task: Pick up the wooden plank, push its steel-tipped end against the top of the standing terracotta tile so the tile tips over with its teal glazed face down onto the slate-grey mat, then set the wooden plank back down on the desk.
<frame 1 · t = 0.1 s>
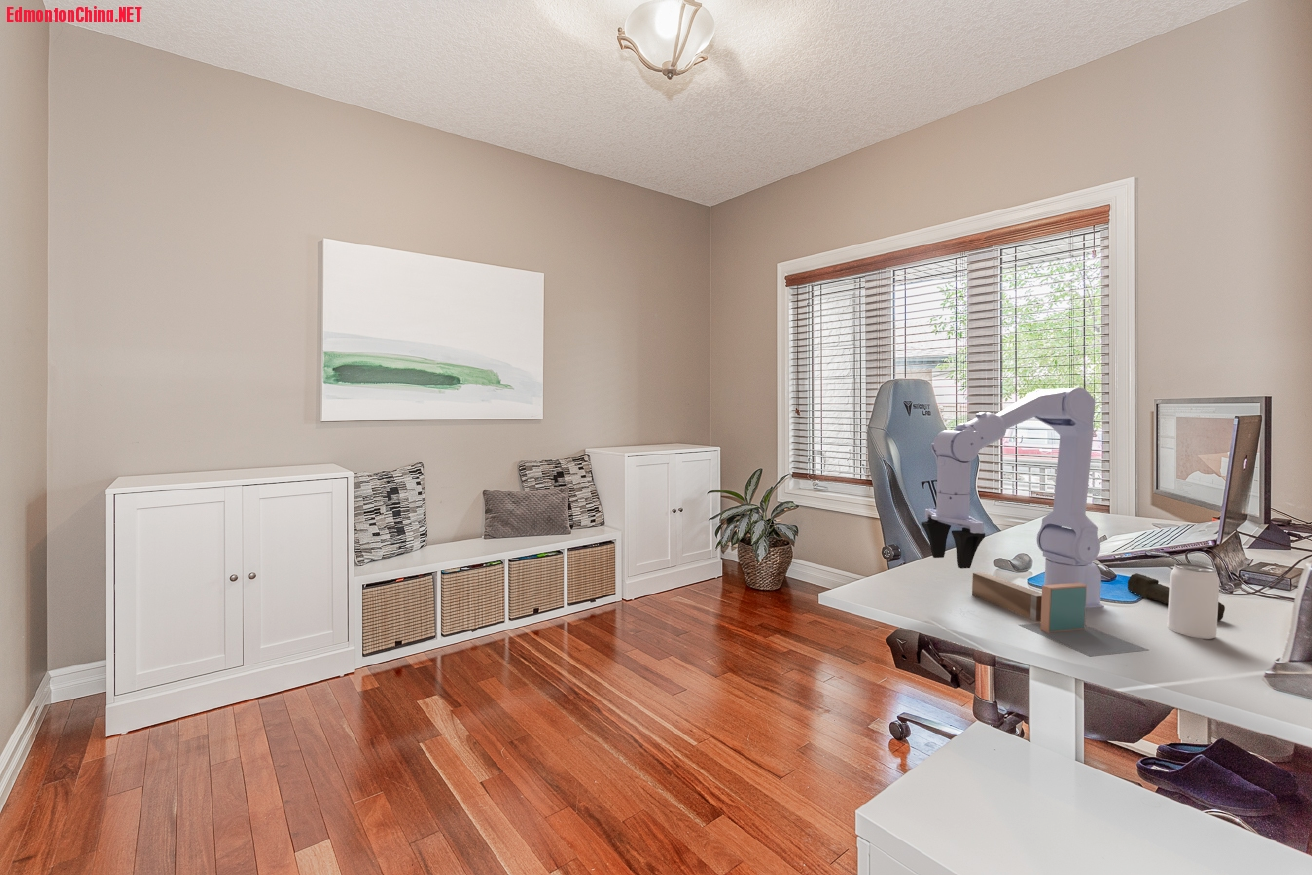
hand: (950, 562, 116), 10 cm above the table, tool pointing down, fingers open, 7 cm apart
wooden plank: (1006, 608, 119), on the table
can: (1191, 634, 107), on the table
hand tool: (1166, 607, 122), on the table
mat: (1080, 638, 104), on the table
tile: (1062, 629, 107), on the table, touching mat
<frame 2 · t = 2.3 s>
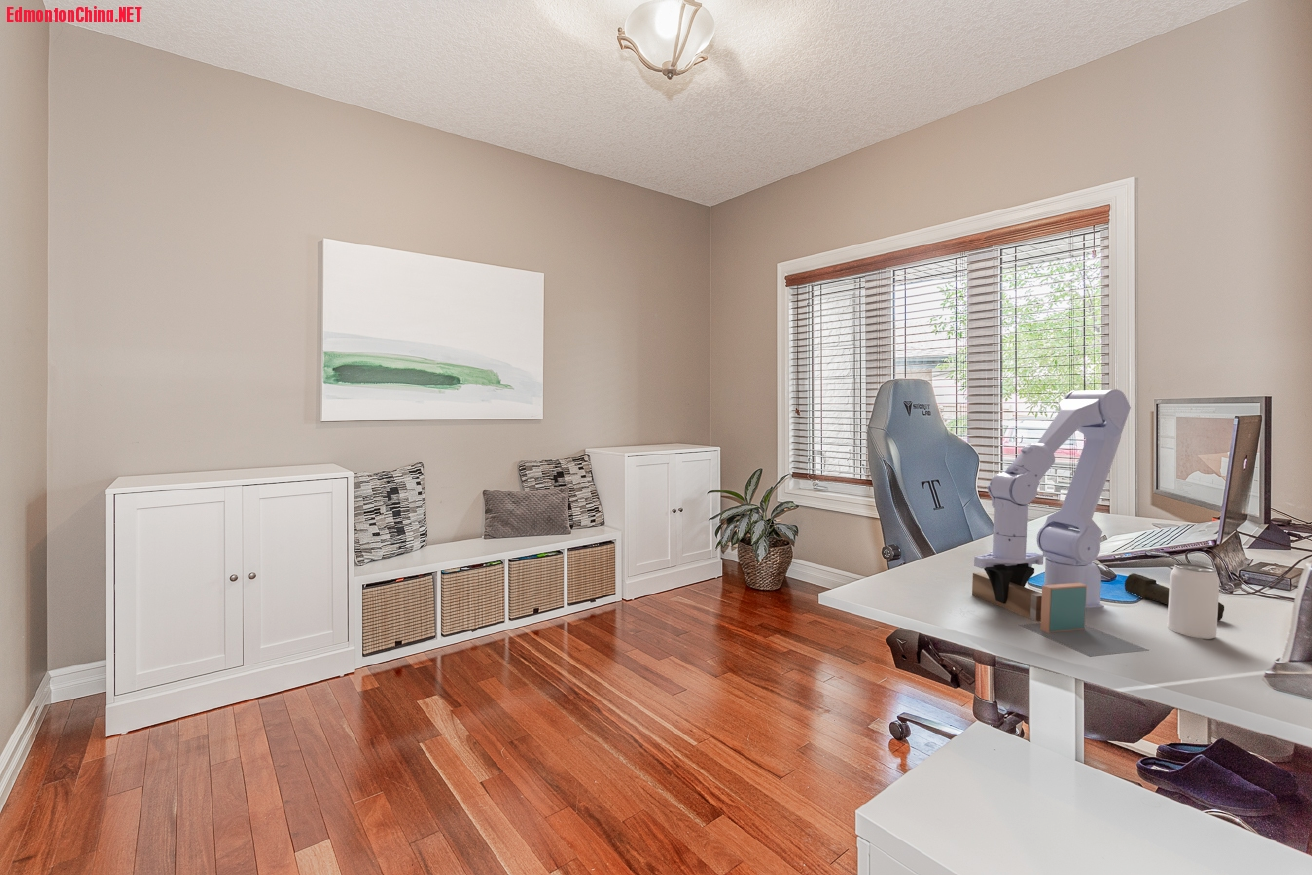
hand: (1007, 601, 119), 1 cm above the table, tool pointing down, fingers closed on wooden plank, 2 cm apart
wooden plank: (1006, 608, 119), on the table, touching gripper
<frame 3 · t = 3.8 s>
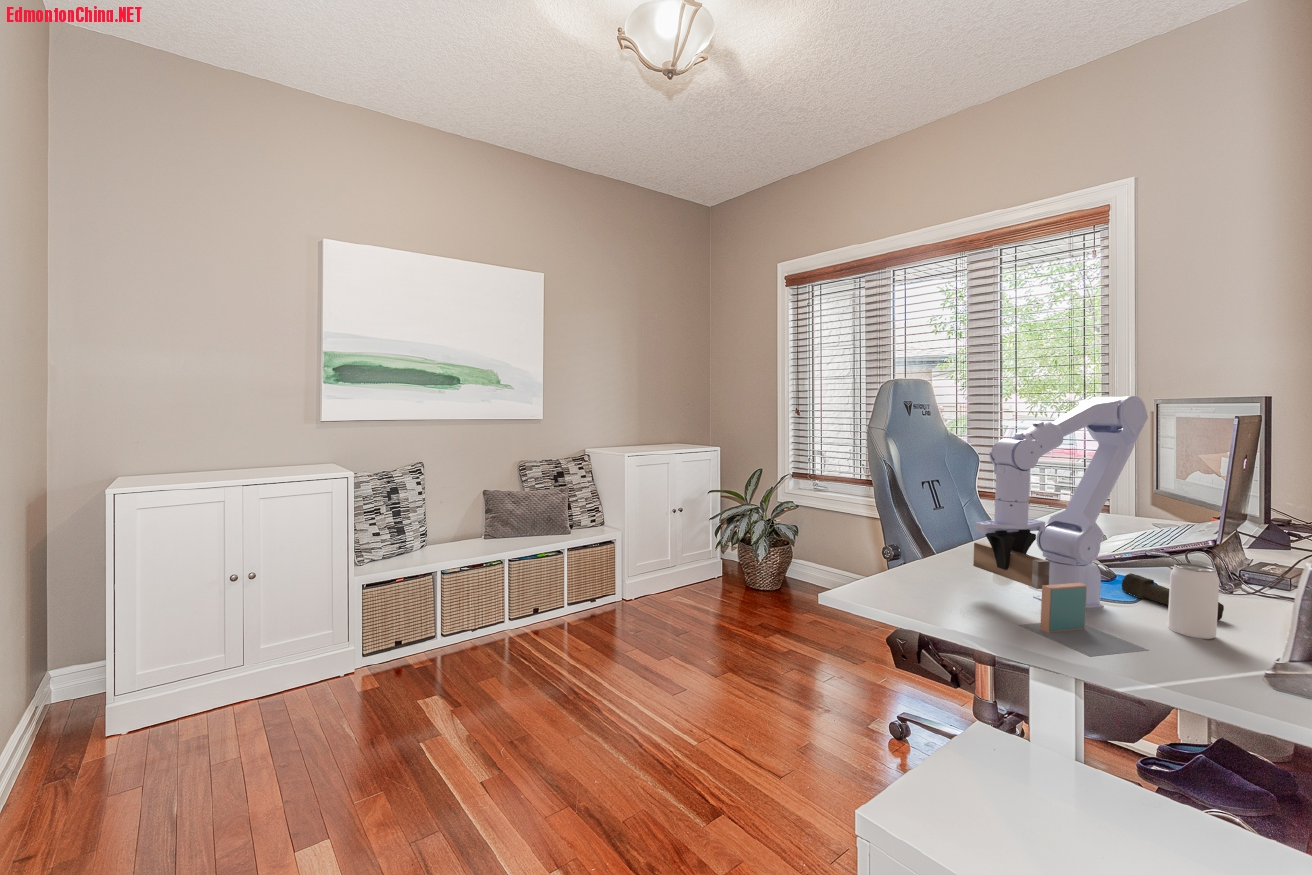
hand: (1009, 568, 119), 8 cm above the table, tool pointing down, fingers closed on wooden plank, 2 cm apart
wooden plank: (1008, 576, 119), point 6 cm above the table, touching gripper
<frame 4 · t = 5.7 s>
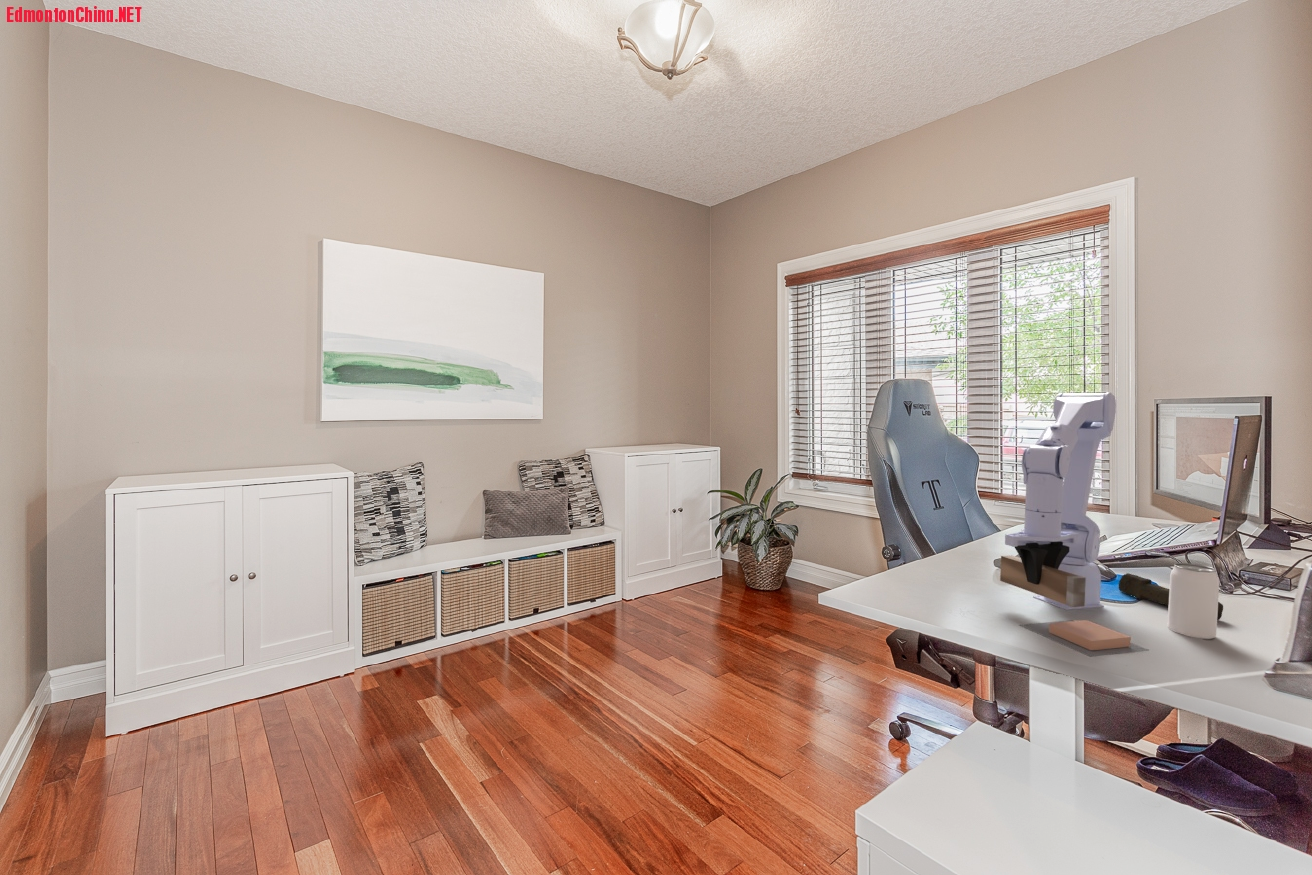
hand: (1040, 582, 112), 7 cm above the table, tool pointing down, fingers closed on wooden plank, 2 cm apart
wooden plank: (1039, 592, 112), point 5 cm above the table, touching gripper
tile: (1067, 626, 106), point 1 cm above the table, tilted 90°, touching mat
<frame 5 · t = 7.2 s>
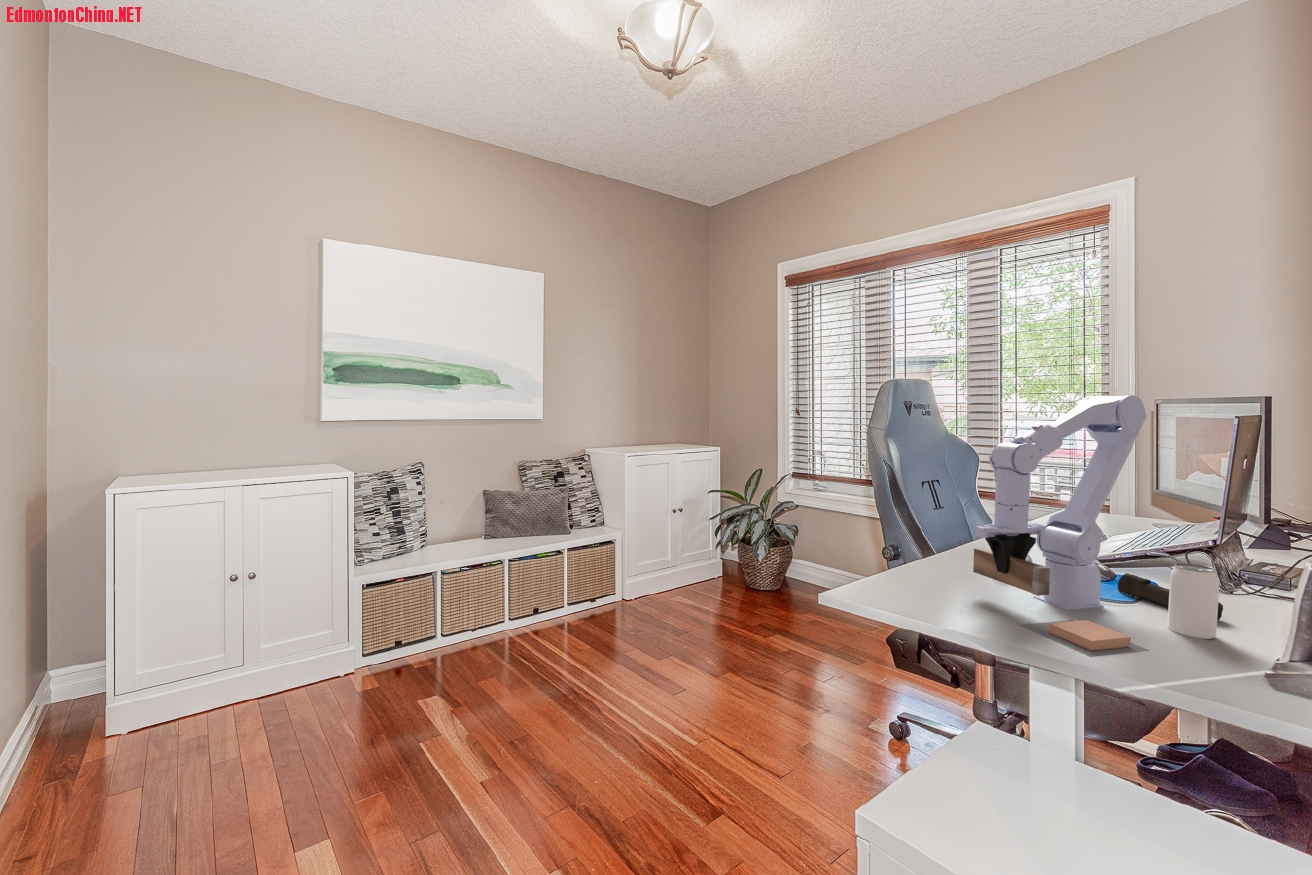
hand: (1008, 571, 119), 7 cm above the table, tool pointing down, fingers closed on wooden plank, 2 cm apart
wooden plank: (1008, 582, 119), point 5 cm above the table, touching gripper
when the fingers open (3 cm above the table, at t = 8.6 s): wooden plank stays where it is, on the table.
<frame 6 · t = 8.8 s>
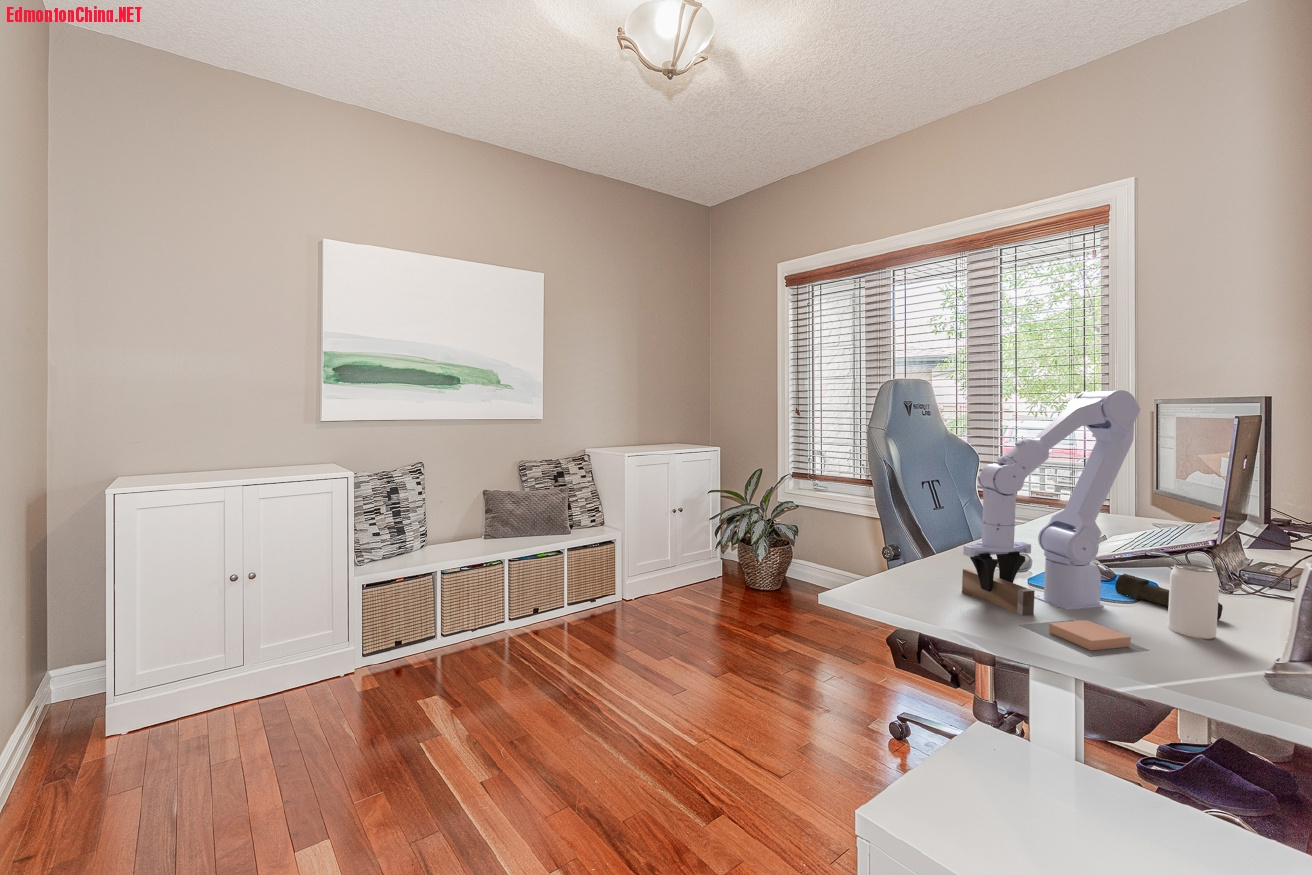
hand: (995, 589, 122), 3 cm above the table, tool pointing down, fingers open, 4 cm apart
wooden plank: (995, 603, 122), on the table
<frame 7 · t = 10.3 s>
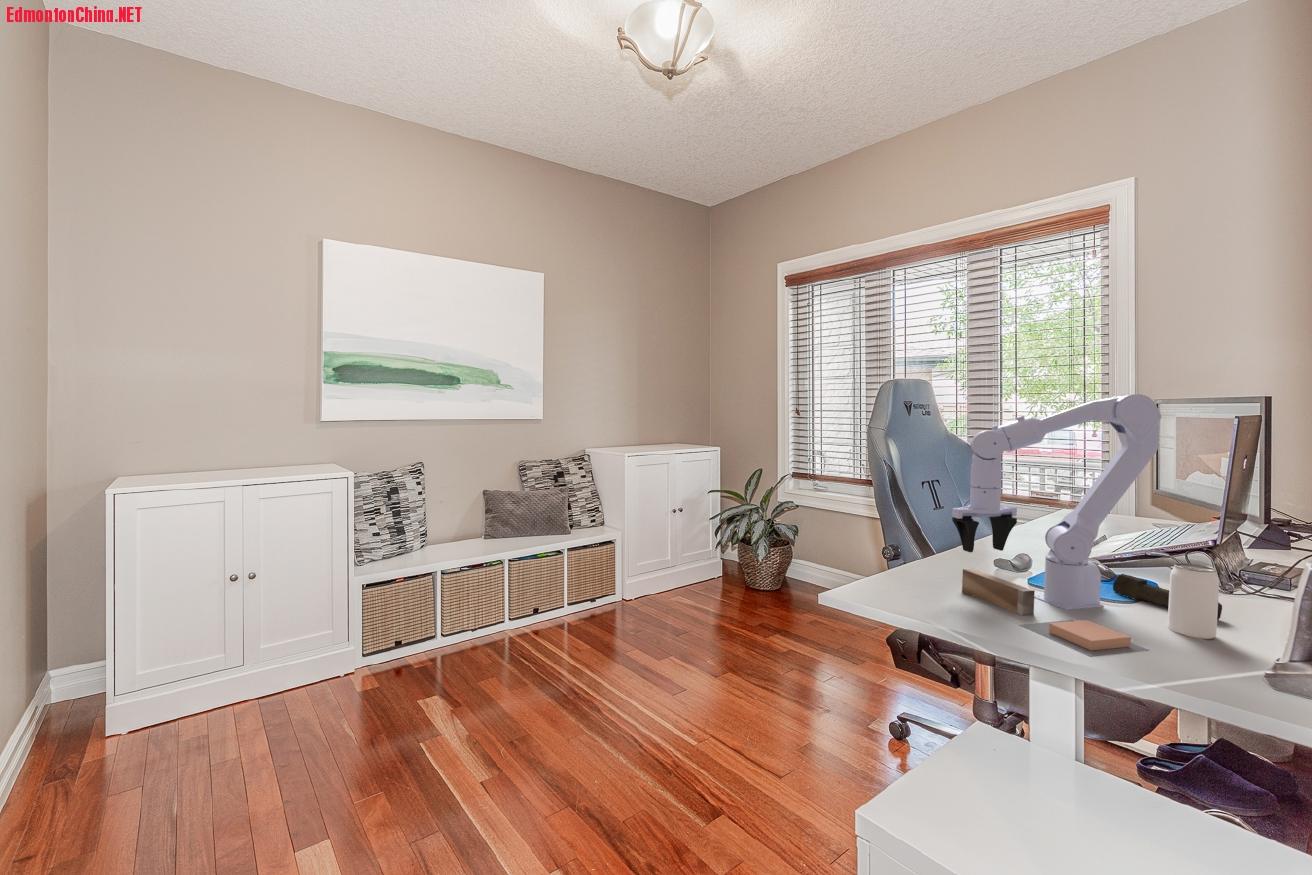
hand: (983, 550, 128), 9 cm above the table, tool pointing down, fingers open, 7 cm apart
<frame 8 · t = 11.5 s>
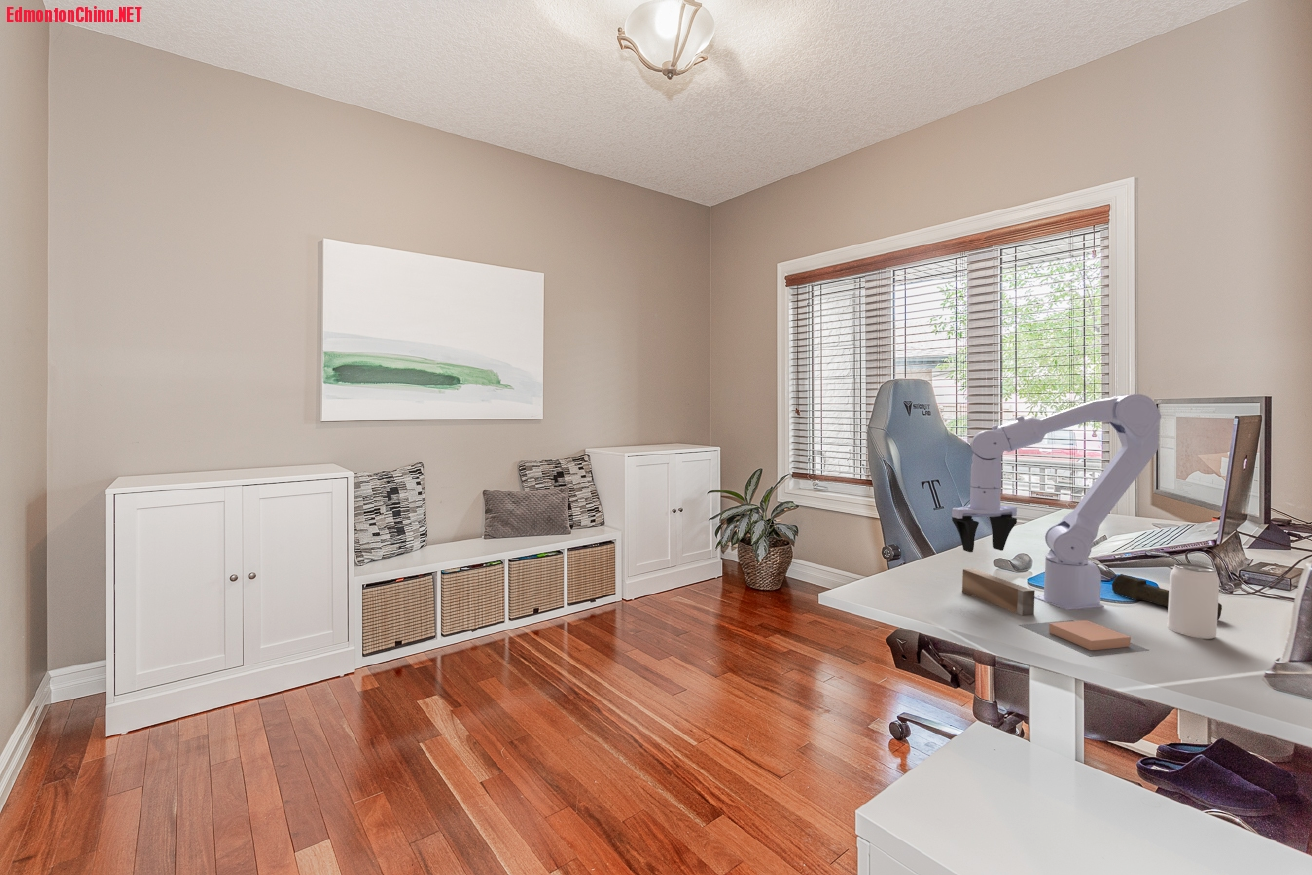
hand: (983, 550, 128), 9 cm above the table, tool pointing down, fingers open, 7 cm apart
at the end: tile tilted 90°; tile inside the target area (4.0 cm from its centre), point 1.3 cm above the table; the gripper is holding nothing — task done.
